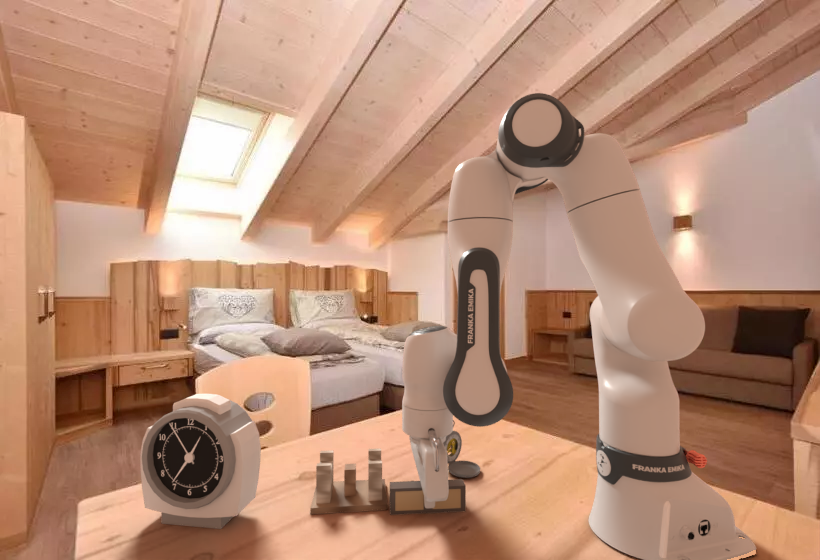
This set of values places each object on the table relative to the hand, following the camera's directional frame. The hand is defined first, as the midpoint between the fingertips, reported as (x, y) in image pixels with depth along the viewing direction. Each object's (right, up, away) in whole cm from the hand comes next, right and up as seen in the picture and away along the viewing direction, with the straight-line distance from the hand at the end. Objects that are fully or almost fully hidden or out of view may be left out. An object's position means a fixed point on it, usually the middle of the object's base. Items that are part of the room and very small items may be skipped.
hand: (427, 499), depth 70 cm
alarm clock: (-38, -2, -2) cm, 38 cm away
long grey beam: (0, -2, 0) cm, 2 cm away
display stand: (-14, -2, +4) cm, 14 cm away
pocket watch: (+8, -2, +15) cm, 17 cm away
